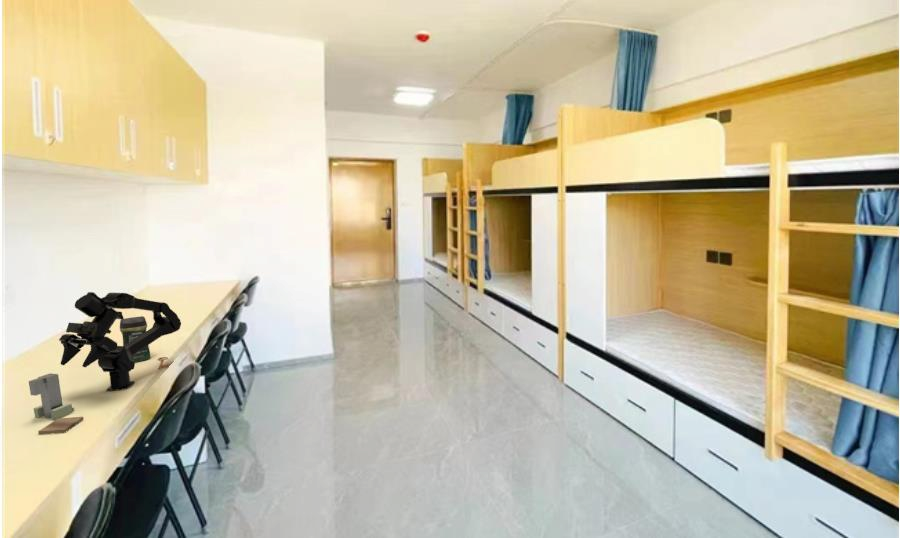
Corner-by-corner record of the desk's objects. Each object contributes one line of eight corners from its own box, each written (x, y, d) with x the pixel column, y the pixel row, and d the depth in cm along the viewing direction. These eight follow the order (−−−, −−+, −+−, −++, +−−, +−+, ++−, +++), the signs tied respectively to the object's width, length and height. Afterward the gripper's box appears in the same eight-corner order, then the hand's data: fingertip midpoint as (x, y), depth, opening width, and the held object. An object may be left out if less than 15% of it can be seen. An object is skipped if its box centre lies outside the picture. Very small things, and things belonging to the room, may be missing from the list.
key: (170, 369, 184) (174, 358, 197) (170, 367, 184) (173, 355, 197) (153, 370, 181) (158, 359, 195) (153, 368, 181) (158, 357, 195)
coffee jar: (124, 365, 188) (118, 321, 185) (122, 360, 194) (117, 317, 191) (152, 359, 194) (147, 317, 191) (149, 355, 200) (145, 313, 197)
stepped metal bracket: (55, 412, 145) (49, 373, 144) (63, 413, 145) (58, 374, 143) (33, 421, 139) (26, 381, 137) (41, 422, 138) (35, 381, 137)
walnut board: (58, 421, 139) (58, 418, 139) (83, 419, 140) (83, 416, 140) (38, 434, 131) (38, 431, 131) (65, 432, 132) (64, 429, 132)
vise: (55, 408, 148) (54, 400, 147) (76, 411, 146) (74, 402, 145) (35, 417, 142) (33, 408, 142) (55, 420, 140) (54, 410, 140)
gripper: (61, 310, 154) (29, 352, 145) (104, 313, 149) (74, 356, 140) (87, 327, 162) (59, 367, 153) (129, 329, 158) (102, 371, 149)
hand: (72, 365), depth 149 cm, fingers open, 9 cm apart
